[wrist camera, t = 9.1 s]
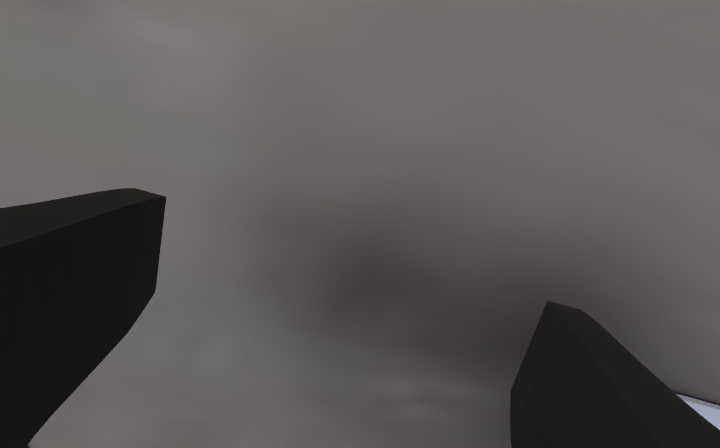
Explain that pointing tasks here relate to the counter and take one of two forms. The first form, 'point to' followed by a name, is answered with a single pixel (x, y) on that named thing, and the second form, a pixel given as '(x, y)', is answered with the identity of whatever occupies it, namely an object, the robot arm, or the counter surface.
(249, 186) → the counter surface
